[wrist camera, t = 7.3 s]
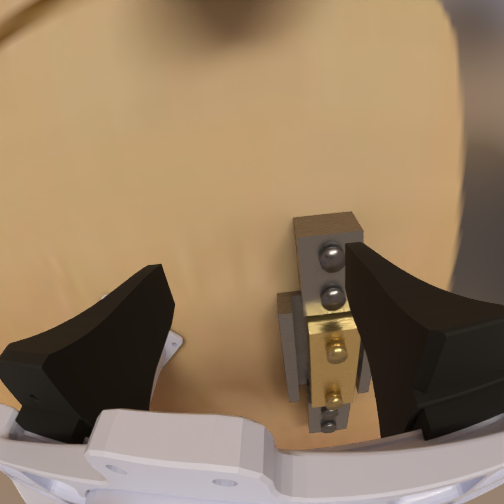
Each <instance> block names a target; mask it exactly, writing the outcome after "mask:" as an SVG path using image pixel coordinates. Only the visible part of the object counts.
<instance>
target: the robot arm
mask: <svg viewBox="0 0 504 504" xmlns="http://www.w3.org/2000/svg"><path fill="white" fill-rule="evenodd" d="M345 290H346V295H347V299H348V303H349V308H350V311H351V314H352V316H353V319H354V322H355V324H356V327H357V330H358V333H359V335H360V338H361V341H362V344H363V346H364V349H365V352H366V355H367V359H368V362H369V367H370V371H371V376H372V381H373V387H374V392H375V398H376V404H377V411H378V418H379V425H380V435H381V438H380V439H375V440H370V441H365V442H359V443H353V444H347V445H340V446H333V447H325V448H316V449H307V450H288V449H277V448H276V445H275V441H274V437H273V435H272V434H271V433H270V432H269V431H268V430H267V429H266V427H265V426H264V425H262V424H261V423H258V422H256V421H253V420H250V419H248V418H245V417H243V416H237V415H228V414H219V413H177V412H159V411H149V407H150V403H151V400H152V397H153V393H154V390H155V387H156V384H157V381H158V377H159V374H160V371H161V369H162V368H163V367H164V366H165V364H166V363H167V362H168V361H169V360H170V358H171V357H172V356H173V355H174V353H175V352H176V351H177V350H178V348H179V347H180V346H181V345H182V343H183V338H182V337H181V336H180V335H178V334H176V333H174V332H172V331H170V328H171V324H172V319H173V314H174V308H175V303H174V300H173V297H172V294H171V291H170V288H169V285H168V282H167V279H166V276H165V273H164V270H163V267H162V264H156V265H148V266H146V267H144V268H143V269H141V270H140V271H138V272H137V273H136V274H134V275H133V276H132V277H130V278H129V279H128V280H126V281H125V282H124V283H123V284H121V285H120V286H119V287H118V288H116V289H115V290H114V291H112V292H111V293H110V294H105V295H104V296H103V297H102V299H101V300H100V301H99V302H97V303H96V304H95V305H93V306H92V307H90V308H89V309H87V310H85V311H84V312H82V313H81V314H79V315H77V316H76V317H74V318H72V319H70V320H68V321H66V322H64V323H62V324H60V325H58V326H56V327H54V328H52V329H50V330H48V331H45V332H43V333H40V334H38V335H35V336H32V337H29V338H26V339H23V340H20V341H17V342H13V343H10V344H9V345H8V346H7V347H6V348H5V350H4V351H3V353H2V354H1V355H0V379H1V381H2V382H3V383H4V385H5V386H6V387H7V388H8V390H9V391H10V392H11V393H12V394H13V395H14V397H15V398H16V399H17V400H18V401H19V402H20V403H21V405H23V406H22V408H21V410H20V412H19V411H18V410H17V409H15V408H13V407H11V406H8V405H5V404H2V403H0V471H1V472H3V473H4V474H5V475H7V476H8V477H9V478H11V480H12V482H13V483H14V485H15V487H16V488H17V490H18V491H19V493H20V495H21V496H22V498H23V499H24V501H25V502H26V504H463V503H465V502H467V501H469V500H472V499H474V498H476V497H478V496H480V495H482V494H484V493H486V492H488V491H490V490H492V489H494V488H496V487H498V486H500V485H501V484H503V483H504V306H503V305H500V304H494V303H488V302H483V301H478V300H474V299H470V298H467V297H463V296H459V295H456V294H453V293H450V292H448V291H445V290H442V289H440V288H437V287H435V286H432V285H430V284H428V283H426V282H424V281H422V280H420V279H418V278H416V277H414V276H412V275H410V274H409V273H407V272H405V271H404V270H402V269H400V268H399V267H397V266H395V265H394V264H392V263H391V262H389V261H388V260H386V259H385V258H383V257H382V256H381V255H379V254H378V253H376V252H375V251H374V250H372V249H371V248H369V247H368V246H366V245H365V244H363V243H362V242H353V243H345ZM175 343H176V344H175Z"/></svg>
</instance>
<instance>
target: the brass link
mask: <svg viewBox="0 0 504 504" xmlns="http://www.w3.org/2000/svg"><path fill="white" fill-rule="evenodd" d="M306 332H307V350H308V371H309V382H310V392H311V402H312V408H315V407H323V406H326V408H327V409H328V410H336V409H339V408H341V407H342V406H343V404H345V403H352V402H353V396H354V389H355V382H356V374H357V366H358V358H359V349H360V339H361V338H360V335H359V333H358V330H357V327H356V324H355V322H354V319H353V316H352V314H351V311H346V312H338V313H331V314H322V315H314V316H306Z"/></svg>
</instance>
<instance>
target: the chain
mask: <svg viewBox="0 0 504 504" xmlns="http://www.w3.org/2000/svg"><path fill="white" fill-rule="evenodd" d="M293 220H294V230H295V240H296V250H297V261H298V272H299V284H300V291H296V292H286V293H277V304H278V319H279V327H280V334H281V342H282V350H283V357H284V365H285V373H286V381H287V389H288V397H289V402H296V401H300V395H299V385H302V384H306V388H307V411H308V424H309V433H317V432H323V433H331V432H334V431H335V430H341V429H346V428H347V422H348V416H349V409H350V403H345V404H343V406H342V407H341V408H339V409H336V410H328V409H327V408H326V406H323V407H315V408H312V402H311V392H310V382H309V371H308V350H307V332H306V316H314V315H322V314H331V313H338V312H346V311H350V308H349V303H348V299H347V295H346V290H345V243H353V242H362V243H363V229H362V227H361V226H360V224H359V223H358V221H357V219H356V218H355V216H354V214H353V213H352V212H342V213H333V214H323V215H314V216H305V217H296V218H293ZM370 380H371V371H370V367H369V362H368V359H367V355H366V352H365V349H364V346H363V344H362V341H361V339H360V349H359V358H358V366H357V374H356V387H357V391H358V394H359V393H365V392H368V390H369V385H370Z"/></svg>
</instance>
